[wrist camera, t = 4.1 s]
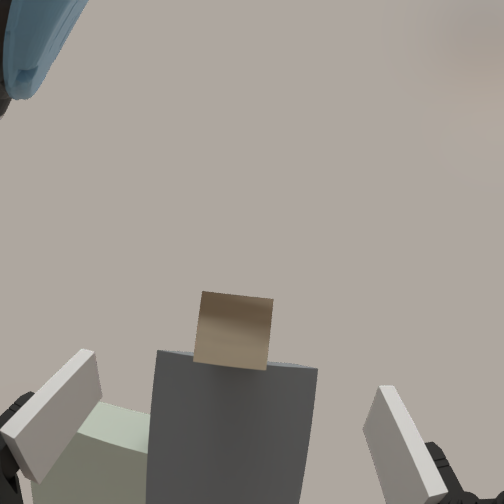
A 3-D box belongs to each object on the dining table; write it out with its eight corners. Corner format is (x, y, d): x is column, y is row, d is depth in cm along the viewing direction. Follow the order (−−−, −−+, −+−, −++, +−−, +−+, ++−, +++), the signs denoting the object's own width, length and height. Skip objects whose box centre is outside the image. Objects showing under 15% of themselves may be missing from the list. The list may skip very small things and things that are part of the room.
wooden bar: (266, 370, 16) (273, 299, 18) (192, 361, 16) (202, 291, 18) (256, 360, 39) (259, 330, 40) (225, 357, 39) (228, 326, 41)
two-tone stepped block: (274, 604, 16) (317, 368, 26) (41, 545, 17) (36, 321, 26) (267, 542, 32) (293, 363, 41) (91, 506, 32) (99, 334, 42)
